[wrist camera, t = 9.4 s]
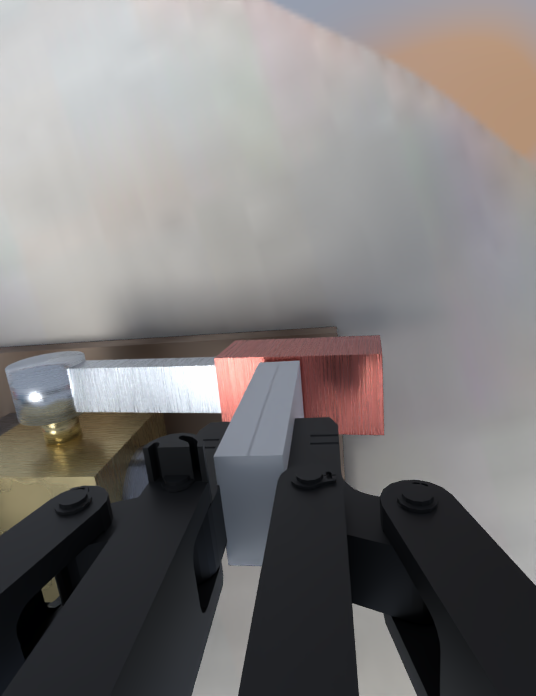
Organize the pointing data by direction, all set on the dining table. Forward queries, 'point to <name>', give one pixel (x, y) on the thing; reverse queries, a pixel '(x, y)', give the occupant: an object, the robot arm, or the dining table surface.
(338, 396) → the valve lever
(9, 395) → the base board
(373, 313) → the dining table surface
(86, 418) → the valve pipe
